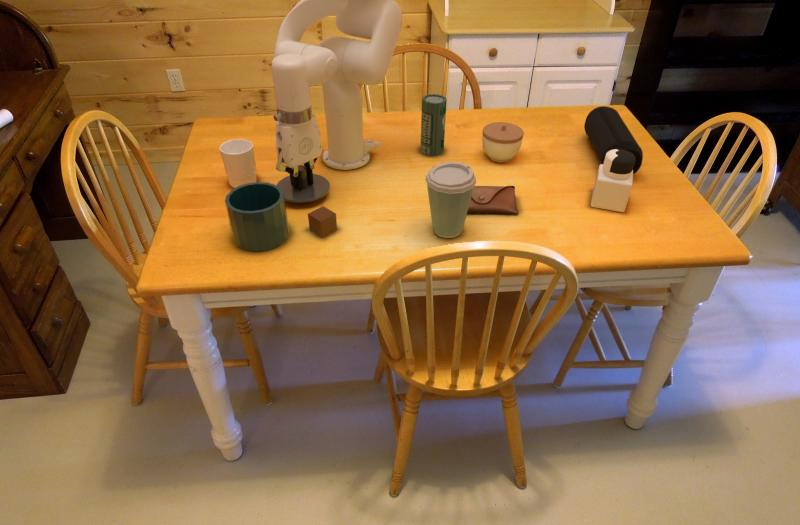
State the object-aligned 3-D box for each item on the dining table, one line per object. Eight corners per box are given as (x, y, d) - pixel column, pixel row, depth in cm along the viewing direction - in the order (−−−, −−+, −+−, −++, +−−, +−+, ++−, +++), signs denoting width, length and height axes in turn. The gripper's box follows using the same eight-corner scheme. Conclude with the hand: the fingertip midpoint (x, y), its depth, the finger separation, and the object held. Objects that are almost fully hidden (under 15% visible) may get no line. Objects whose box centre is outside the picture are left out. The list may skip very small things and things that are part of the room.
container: (625, 196, 137) (639, 148, 129) (624, 213, 132) (639, 164, 124) (592, 190, 139) (605, 143, 131) (590, 207, 134) (603, 158, 126)
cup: (279, 214, 130) (274, 177, 124) (296, 243, 122) (291, 204, 115) (228, 227, 126) (219, 189, 120) (241, 258, 118) (232, 218, 111)
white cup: (251, 192, 138) (244, 155, 131) (221, 188, 139) (213, 152, 132) (264, 176, 144) (258, 140, 137) (235, 172, 145) (228, 137, 138)
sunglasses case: (444, 214, 130) (444, 185, 129) (440, 213, 137) (440, 185, 136) (521, 213, 130) (521, 184, 129) (514, 212, 137) (514, 184, 136)
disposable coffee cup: (436, 248, 121) (439, 189, 111) (415, 222, 128) (417, 164, 119) (479, 237, 124) (486, 178, 114) (456, 212, 132) (461, 154, 122)
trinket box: (508, 145, 158) (512, 113, 152) (526, 163, 150) (532, 130, 144) (473, 150, 155) (476, 119, 149) (490, 169, 147) (494, 136, 141)
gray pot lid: (319, 172, 143) (317, 150, 139) (338, 197, 134) (336, 174, 130) (269, 183, 138) (266, 161, 134) (285, 210, 129) (282, 186, 125)
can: (447, 152, 154) (450, 100, 145) (429, 158, 152) (432, 105, 142) (434, 143, 158) (436, 92, 149) (416, 149, 155) (418, 97, 146)
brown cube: (324, 221, 128) (323, 205, 125) (337, 229, 126) (336, 213, 123) (309, 229, 126) (307, 213, 123) (322, 238, 123) (320, 221, 120)
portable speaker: (639, 182, 143) (650, 146, 137) (600, 181, 143) (610, 145, 137) (613, 136, 163) (622, 103, 156) (578, 135, 163) (586, 102, 157)
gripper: (274, 130, 117) (285, 204, 129) (333, 107, 126) (338, 178, 138) (253, 119, 121) (265, 192, 133) (312, 98, 130) (318, 168, 142)
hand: (302, 184), depth 135 cm, fingers closed on gray pot lid, 2 cm apart
